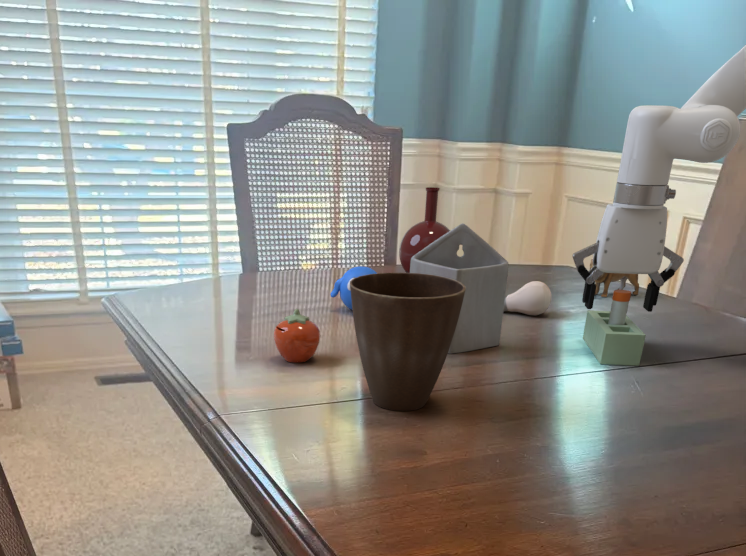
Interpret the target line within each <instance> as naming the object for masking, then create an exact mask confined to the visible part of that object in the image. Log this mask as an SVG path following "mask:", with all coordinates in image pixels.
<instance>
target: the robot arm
mask: <svg viewBox="0 0 746 556" xmlns="http://www.w3.org/2000/svg"><path fill="white" fill-rule="evenodd" d="M745 110H746V44H745V45H744V46H743V47H742V48H741V49H740V50H738V51H737V52H735V54H733V56H732V57H730V58H729V59H728V60H727V61H726V62H725V63H724V64H722V66H720V67H719V68H718V69H717V70H716V71H715V72H714V73H713V74H712V75H711V76H710V77H708V79H707V80H706V81H705V82H704V83H703V84H702V85H701V86H700V87H699V88H698V89H697V90H696V91H695V92H694V93H693V95H691V96H690V98H689V99H688V100H687V101H686V102H685V103H684V104H683V105H682V106H681V107H680V108H679V107H677V106H673V105H659V104H657V105H655V104H654V105H653V104H652V105H651V104H648V105H647V104H646V105H644V104H643V105H638V106H635V107H634V108H632V110H631V111H630V113H629V115H628V119H627V123H626V129H625V135H624V140H623V146H622V151H621V157H620V162H619V168H618V174H617V179H616V185H615V190H614V196H613V202H612V203H607V204H606V207H605V209H604V212H603V215H602V218H601V222H600V225H599V229H598V231H597V232H598V233H597V236H596V241H595V243H593V244H590V245H589V246H586V247H584V248H582V249H580V250H577V251H575V252H574V253H572V260H573V263H574V266H575V269H576V271H577V272H578V274H579V275H580V277H581V278H582V279H583V280H584V281H585V282H584V287H583V293H582V299H581V301H582V303H583V304H584V307H585V308H586V309H587V310H592V309H593V308H594V302H595V296H596V295H595V291H596V284H595V280H596V279H597V278H598V277H599V276H601V275H602V274H603V273H604V272H606V273H624V274H638V275H647V276H648V278H649V279H650V282H648V284H647V286H646V291H645V296H644V300H643V305H642V307H643V309H644V310H645V311H646V312H648V313H652V312H653V309H654V307H655V306H656V305H657V303H658V299H659V295H660V289H661V288H662V287H663V286H664V284H665V283H666V282H668V281H669V280H670V279H671V278H672V277H674V276H675V274H676V272H677V271H678V270H679V269H680V267H681V266H682V265H683V263H684V261H685V260H684V258H683V256H681V255H679V254H677V253H676V252H674V251H673V250H672V249H670V248H668V247H667V246H665V245H666V237H667V227H668V207H666V206H664V205H665V204H666V202H667V201H668V200H669V201H670V199H671V200H674V199H675V198H676V194H677V190H676V189H674V188H673V189H672V188H670V185H669V181H670V177H671V172H672V167H673V162H674V159H677V160H685V161H688V162H689V161H690V162H695V163H700V164H707V163H713V162H716V161H719V160H721V159H722V158H724V157H726V156H727V155H729V154H730V153H731V152H732V150H733V149H734V148H735V147H736V145H737V143H738V141H739V139H740V136H741V123H740V120H739V115H741V114H742V113H743V112H744V111H745ZM591 256H592V259H593V265H594V266H593V267H592V268H591V269H590V268H589V269H587V268H586V265H585V263H584V260H585V259H586V258H588V257H591ZM663 257H665V258H666V259H668V260H669V261H670V263H669V264H668V266H667V267H666V268H665V269H663V270H662V271H661V272H659V270H660V268H661V266H662V262H663Z"/></svg>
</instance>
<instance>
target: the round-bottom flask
mask: <svg viewBox="0 0 746 556" xmlns="http://www.w3.org/2000/svg"><path fill="white" fill-rule="evenodd" d="M440 189H441V188H440V187H432V186H431V187H430V186H429V187H425V192H426V193H425V208H424V220H422V221H420V222H417V223H415V224H414V225H412V226H411V227H410V228H408V230H406V232H405V233H404V235H403V237H402V238H401V241H400V244H399V251H398V256H399V262H400V264H401V268H402V269H403V271H404V273H410V264H411V258H412V257H413V256H414V255H415V254H417V253H418V252H420V251H421V250H423V249H424V248H425V247H427V246H428V245H430V244H431V243H433V242H434V241H436V240H437V239H439V238H440V237H442V236H443V235H445V234H446V233H448V232H449V231H451V229H449V227H447V226H446V225H445V224H443V223H441V222H439V221H437V215H438V214H437V212H438V201H439V192H440Z"/></svg>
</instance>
